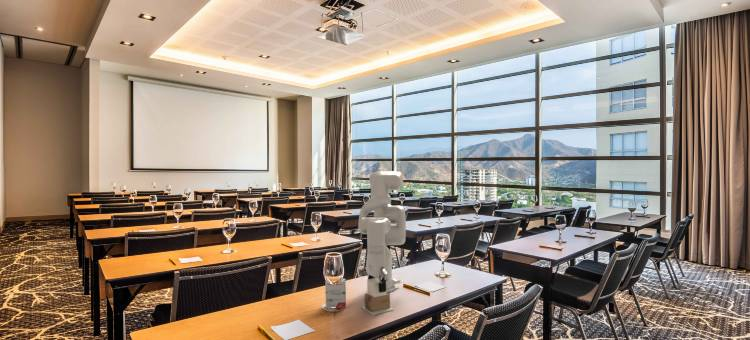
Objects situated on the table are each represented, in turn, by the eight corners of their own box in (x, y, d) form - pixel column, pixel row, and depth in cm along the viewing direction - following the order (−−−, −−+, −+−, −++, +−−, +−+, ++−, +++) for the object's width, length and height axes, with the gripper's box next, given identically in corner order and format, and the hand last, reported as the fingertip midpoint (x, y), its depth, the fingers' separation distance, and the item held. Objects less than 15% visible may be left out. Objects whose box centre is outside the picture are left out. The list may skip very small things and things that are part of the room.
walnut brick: (364, 307, 171) (364, 293, 170) (382, 303, 175) (382, 290, 175) (371, 312, 165) (371, 297, 165) (389, 307, 170) (389, 293, 170)
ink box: (346, 304, 177) (345, 277, 176) (345, 308, 172) (344, 281, 171) (327, 304, 177) (326, 278, 176) (325, 308, 172) (325, 281, 171)
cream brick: (379, 290, 174) (379, 277, 174) (386, 294, 169) (386, 280, 169) (367, 293, 171) (367, 279, 171) (374, 297, 166) (373, 283, 166)
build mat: (381, 303, 177) (381, 302, 177) (393, 310, 168) (393, 309, 168) (361, 307, 172) (361, 306, 172) (372, 315, 163) (372, 314, 163)
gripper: (359, 246, 176) (360, 285, 176) (378, 254, 160) (379, 296, 161) (374, 244, 179) (375, 282, 179) (394, 251, 164) (394, 292, 164)
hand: (376, 288), depth 170 cm, fingers open, 9 cm apart
